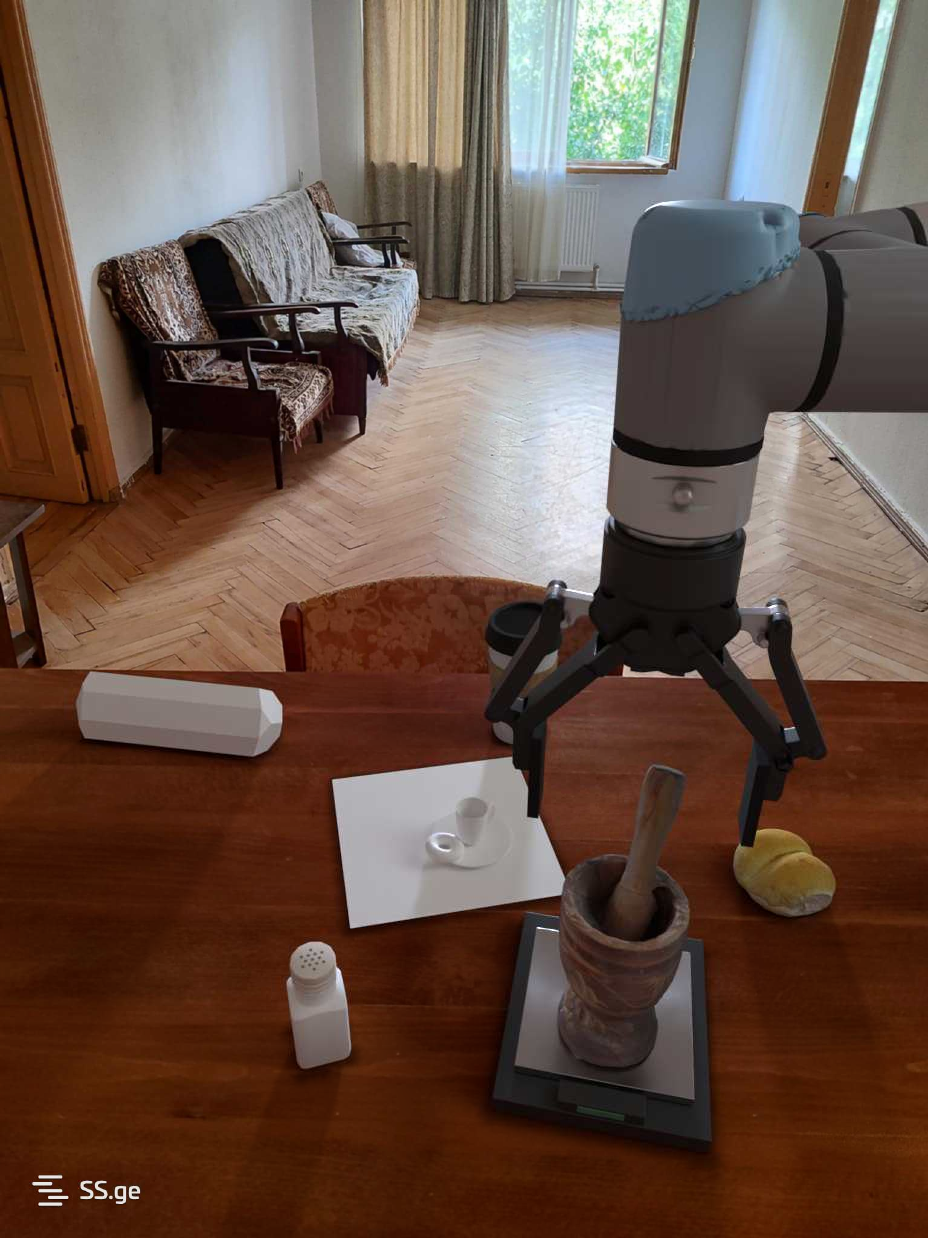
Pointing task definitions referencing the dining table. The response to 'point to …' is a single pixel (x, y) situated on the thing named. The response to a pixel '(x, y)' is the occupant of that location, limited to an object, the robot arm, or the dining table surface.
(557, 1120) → the scale
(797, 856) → the bread roll
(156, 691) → the crystal
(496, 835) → the teacup and saucer
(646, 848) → the mortar and pestle
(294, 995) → the salt shaker
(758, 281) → the robot arm
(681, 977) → the scale pan
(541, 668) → the coffee cup
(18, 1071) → the dining table surface
